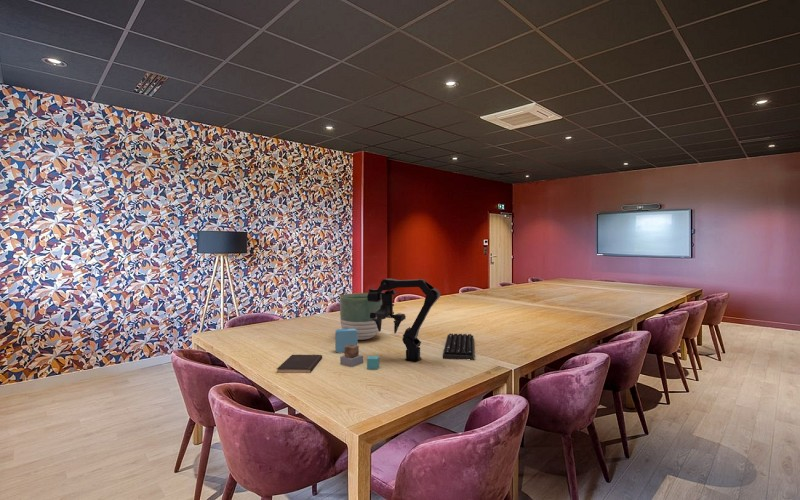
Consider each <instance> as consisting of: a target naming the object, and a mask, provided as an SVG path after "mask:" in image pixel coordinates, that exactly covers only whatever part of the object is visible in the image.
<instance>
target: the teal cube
mask: <svg viewBox="0 0 800 500" xmlns="http://www.w3.org/2000/svg"><path fill="white" fill-rule="evenodd" d="M379 368H380V356H379V355H368V357H367V359H366V369H367V370H378V369H379Z"/></svg>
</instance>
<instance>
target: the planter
mask: <svg viewBox="0 0 800 500" xmlns="http://www.w3.org/2000/svg"><path fill="white" fill-rule="evenodd" d="M367 296H368V292H358V293H357V292H355V293H346V294H342V295H341V294H340V296H339V313H340V314H339V315H340V316H339V319H340V326H341V327H340V328H341V329H356V330H357V333H358V341H363V340H369V339H372V338H373V337H376V335H377V334H379V330H378V327H377V325H376V322H375V321H374V320H372V318H370V313H371V312H374V311H378V310H379V309H380V306H381V305H382V300H380V302H369V301H368V299H367ZM382 324H383V320H382V321H381V326H382Z"/></svg>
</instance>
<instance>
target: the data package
mask: <svg viewBox="0 0 800 500" xmlns="http://www.w3.org/2000/svg"><path fill="white" fill-rule="evenodd" d="M334 333H335V335H334V339H335V347H334V348H335V351H336V353H337V354H338V353H339V354H341V353H345V348H344V347H345V346H348V345H350V344H351V345H358V341H359V340H358V333H357V330H356V329H342V328H339V329H335V332H334ZM358 346H359V345H358Z"/></svg>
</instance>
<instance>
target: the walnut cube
mask: <svg viewBox="0 0 800 500" xmlns="http://www.w3.org/2000/svg"><path fill="white" fill-rule="evenodd" d="M359 346H360V345H351V344H350V345H348V346H345V347H344V348H345V352H344V355H345V357H348V358H355V357H357V356H359V355H360V354H359V352H360V351H359V350H360V349H359Z"/></svg>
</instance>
